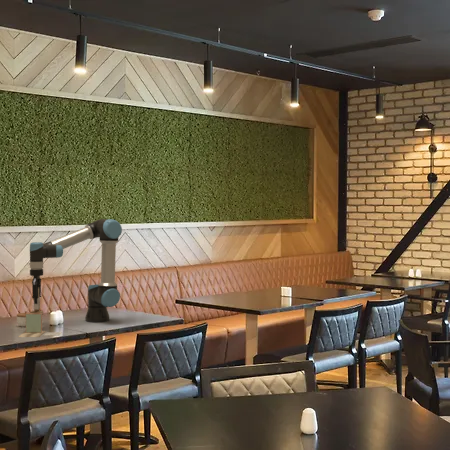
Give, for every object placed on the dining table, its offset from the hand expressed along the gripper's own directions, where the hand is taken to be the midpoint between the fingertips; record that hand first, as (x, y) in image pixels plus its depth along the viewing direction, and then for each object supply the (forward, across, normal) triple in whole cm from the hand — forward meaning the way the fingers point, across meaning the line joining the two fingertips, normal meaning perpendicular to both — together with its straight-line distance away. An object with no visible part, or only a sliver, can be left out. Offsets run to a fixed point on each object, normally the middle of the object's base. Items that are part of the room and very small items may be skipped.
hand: (36, 308), depth 426 cm
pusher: (+4, 0, 0) cm, 4 cm away
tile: (+13, +8, 0) cm, 15 cm away
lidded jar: (+13, -15, -10) cm, 22 cm away
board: (+13, +12, 0) cm, 18 cm away
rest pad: (+13, +12, +12) cm, 21 cm away
